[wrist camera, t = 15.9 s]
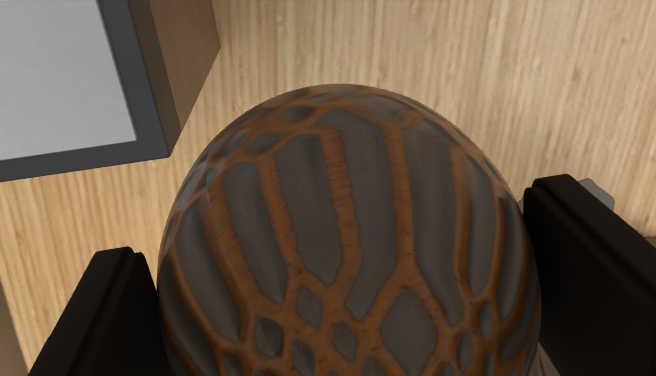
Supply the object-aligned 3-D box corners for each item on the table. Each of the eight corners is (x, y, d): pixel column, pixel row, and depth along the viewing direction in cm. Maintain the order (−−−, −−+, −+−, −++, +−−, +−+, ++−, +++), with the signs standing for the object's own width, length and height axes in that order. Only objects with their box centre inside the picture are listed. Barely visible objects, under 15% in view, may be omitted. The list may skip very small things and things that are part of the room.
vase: (328, 339, 16) (382, 736, 8) (129, 198, 14) (-65, 574, 6) (512, 180, 14) (803, 489, 7) (324, -15, 12) (428, 104, 4)
